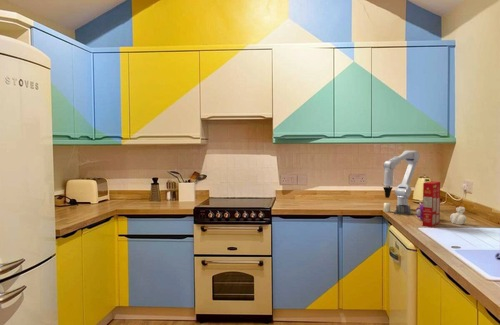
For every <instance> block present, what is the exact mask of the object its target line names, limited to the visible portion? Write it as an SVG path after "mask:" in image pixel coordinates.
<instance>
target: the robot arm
mask: <svg viewBox="0 0 500 325" xmlns="http://www.w3.org/2000/svg"><path fill="white" fill-rule="evenodd" d="M419 159H420V152H419V150H408V149H406V150H404V151H403V152H401V154H400V155H398V156H396V155H394V156H393V157H392V158H391V159H388V160H386V161H384V162H383V165H382V166H383V171H384V176H383V177H384V179H383V183H382V186H384V187H383V191H384V196H385V198H386V199H389V198H390V196H391V193H392V190H393V188H394V187H393V186H394V185H393V184H394V183H393V182H394V181H393V180H394V170H395V169H396V167H397V166H398V165H399V164H401V162H402V161H403V160H405V162H406V163H407V167H406V171H405V173H404V176H403V178H402V180H401V183H400V184H398V185H397V187H396V188H395V190H394V194H395V196H396V197H397V198H396V199H397V200H396V202H397V205H409V198H410V196H411V194H412V187H411V186H410V184H411V181H412V180H413V175H414V174H415V173H414V172H415V170H416V168H417V163H419Z"/></svg>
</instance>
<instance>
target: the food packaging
mask: <svg viewBox="0 0 500 325" xmlns="http://www.w3.org/2000/svg"><path fill="white" fill-rule="evenodd" d="M422 187H423V188H422V204H423V219H422V225H421V226H423V227H429V228H432V227H435V226H438V225H439V224H440V218H441V217H440V215H441V213H440V211H441V208H440V207H441V181H426V182H424V183H423V186H422Z"/></svg>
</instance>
